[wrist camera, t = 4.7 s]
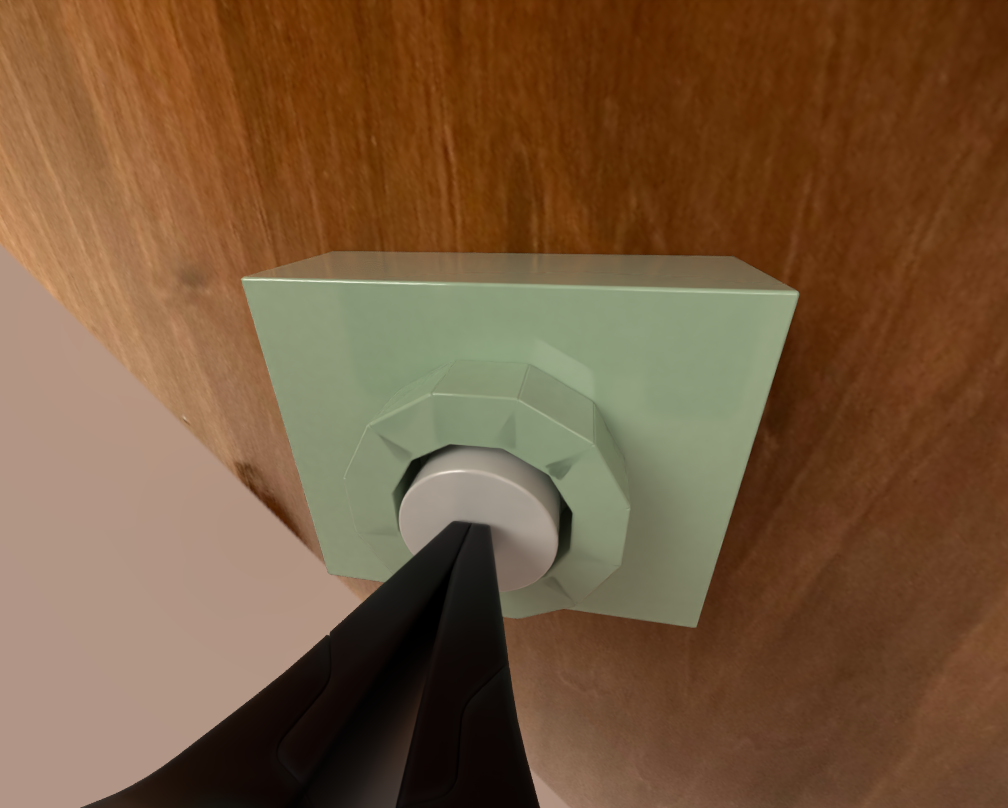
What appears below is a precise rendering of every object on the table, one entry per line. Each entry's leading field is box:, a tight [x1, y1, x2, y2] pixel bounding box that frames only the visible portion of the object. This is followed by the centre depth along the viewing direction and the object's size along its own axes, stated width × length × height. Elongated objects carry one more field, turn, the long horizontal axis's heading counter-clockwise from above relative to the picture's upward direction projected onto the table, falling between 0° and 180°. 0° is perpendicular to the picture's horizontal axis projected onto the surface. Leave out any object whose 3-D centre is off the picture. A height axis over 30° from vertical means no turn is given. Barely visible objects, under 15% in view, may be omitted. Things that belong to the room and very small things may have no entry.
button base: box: [241, 251, 799, 628], centre depth 12 cm, size 12×10×6 cm
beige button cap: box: [399, 444, 562, 592], centre depth 10 cm, size 4×4×2 cm
